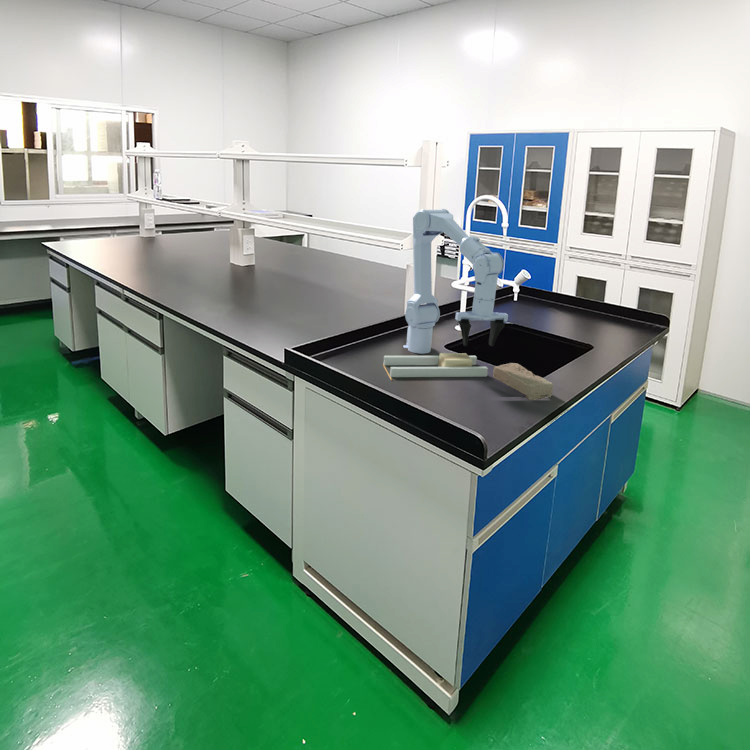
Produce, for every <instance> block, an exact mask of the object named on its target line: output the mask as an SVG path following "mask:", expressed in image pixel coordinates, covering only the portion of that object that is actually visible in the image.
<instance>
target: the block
mask: <svg viewBox="0 0 750 750" xmlns="http://www.w3.org/2000/svg"><path fill="white" fill-rule="evenodd" d="M438 356H439V364H438V365H437V367H473V365H472V359H471V358H470V357H469V356H470V355H468V354H467V353H466V352H464V353H463V352H462V353H460V352H459V353H457V352H451V353H450V352H449V353H448V352H443V353H442V352H440V353H439V355H438Z"/></svg>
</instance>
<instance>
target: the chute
mask: <svg viewBox="0 0 750 750" xmlns="http://www.w3.org/2000/svg"><path fill="white" fill-rule="evenodd" d="M468 356H469V357H470V358H471V359H472V367H439V366H438V364H439V355H384V356H383V363H382V367H383V369H384V371H386V374H387V376H388V377H389V379H390V381H391V382H392V381H393V378H427V377H428V378H438V377H439V378H440V377H441V378H445V377H446V378H449V377H450V378H455V377H456V378H457V377H458V378H460V377H461V378H463V377H464V378H465V377H468V378H469V377H473V378H474V377H483V378H484V377H488V371H489V370H488V369H489V368H488V367H487V366H476V365H477V359H478V357H477V356H476V355H468ZM386 366H390V367H389V368H390V369H389V370H387V368H386Z"/></svg>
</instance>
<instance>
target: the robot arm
mask: <svg viewBox="0 0 750 750" xmlns="http://www.w3.org/2000/svg"><path fill="white" fill-rule="evenodd" d="M443 233H444V234H445V235H446V236H447V237H448V238H450V239H451V240H452V241H453V242H455V243H456V244H457V245H458V246H459V253H461V255H462V256H463V257H464V258H465V259H466V260H467V261H469V262H470V263H471V264H472V269H473V273H474V278H473V279H474V281H475V282H474V284H475V285H474V291H473V292H474V293H473V300H472V309H471V310H470V311H458V312H457V311H456V312H455V320H456V321H457V323H458V325H459V328H460V332H461V337H462V344H463V346H464V347H468V345H469V336H470V331H471V327H472V324H471V322H470V321H480V322H481V321H484V322H485V321H487V322H488V321H490V324H489V326H490V329H489V330H490V331H489V337H488V345H489V346H490V347H494V346H495V343H496V340H497V338H498V336H499V335H500V333H501V331H503V329H504V328H505V324H506V322H508V321H509V319H508V318H509V314H507V313H506V312H494V307H495V300H496V292H497V286H498V277H499V275H500V274H501V273H502V272H503V270H504V268H505V260H504V258H503V256H502V255H501V254H500V253H499V252H492V250H491V249H490V248H489V247H486V245H484V244H483V243H482V242H481V241H480V240H481V239H480V238H479V237H478V236H474V235H471V236H469V235H468V234H467V233H466V231H464V230H463V228H461V226H460V225H459V224H458V223H457V222H456V221H455V219H454V215H453V214H452V212H451V213H450V211H449V210H448V209H447V208H446V209H445V208H441V209H425V208H421V209H419V210H417V212H416V213H415V214H414V215H413V216H412V245H413V246H412V250H413V252H412V253H413V254H412V256H413V257H412V258H413V259H412V260H413V262H412V263H413V264H412V265H413V295H412V296H411V297H410V298H409V299H408V300H407V301H406V308H405V313H404V317H405V321H406V323H407V324H408V326H407V330H406V331H407V332H406V333H407V334H406V344H404V345H402V346H403V348H404V349H407V350H408V351H409V352H410V353H415V354H421V355H424V354H429V353H431V351H432V350H431V349H432V340H433V339H432V338H433V333H434V331H433V329H434V326H436V323H437V322H438V321H439V319H440V315H441V311H440V308H439V302H438V299H437V298H436V297H435V296H434V294H433V293H432V289H433V288H432V287H433V286H432V283H433V281H432V280H433V279H432V242H433V241H434V239H435V238H436V237H438V236H439V235H441V234H443Z"/></svg>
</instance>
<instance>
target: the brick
mask: <svg viewBox="0 0 750 750" xmlns="http://www.w3.org/2000/svg"><path fill="white" fill-rule="evenodd" d="M492 373H493V374H492V378H494V379H495V380H497V381H499V382H501V383H503V384H505V385H507V386H508V387H510V388H512V389H514V390H515V391H517V392H519V393H521V394H523V395H524V396H523V395H522V397H523V398H524V399H527V400H528V401H535V400H536V399H537V400H541V399H540V398H542V399H543V398H544V399H546V398H545V397H550V398H552V397H551V396H552V395H553V388H554V383H553V382H551V381H549V380H548V379H546V378H543V377H542V376H539V375H536V374H534V373H533V372H532V371H530V370H528V369H527V368H526V367H524V366H522V365H521V364H519V363H515V362H509V363H506V364H504V363H503V364H500V365H495V366H493V371H492Z"/></svg>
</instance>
